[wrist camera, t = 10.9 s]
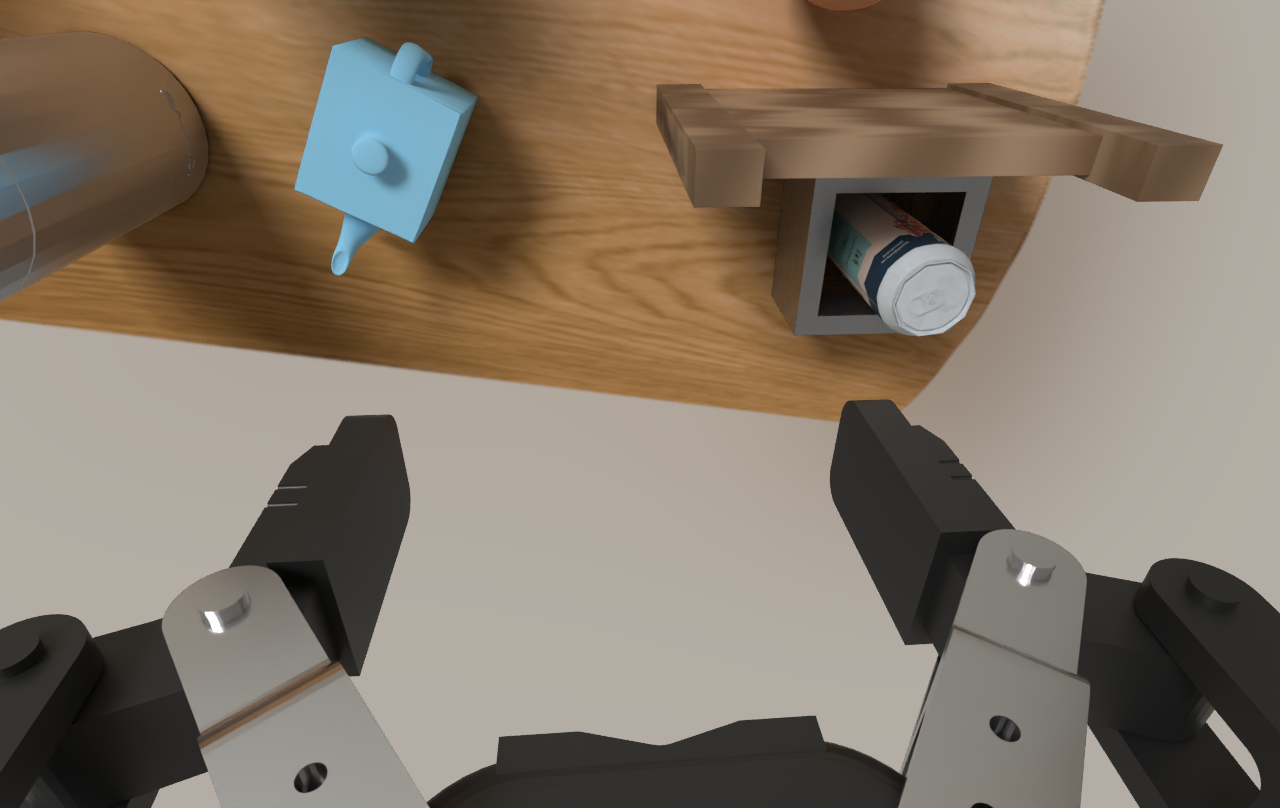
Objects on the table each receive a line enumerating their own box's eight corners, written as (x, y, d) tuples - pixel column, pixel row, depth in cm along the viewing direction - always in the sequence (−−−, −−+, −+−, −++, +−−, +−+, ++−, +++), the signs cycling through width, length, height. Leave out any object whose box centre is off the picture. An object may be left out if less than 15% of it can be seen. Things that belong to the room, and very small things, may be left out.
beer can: (898, 240, 44) (992, 320, 33) (827, 272, 44) (897, 359, 34) (880, 170, 41) (975, 233, 31) (805, 205, 42) (873, 278, 32)
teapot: (419, 256, 42) (388, 306, 36) (319, 212, 41) (268, 256, 34) (491, 66, 37) (470, 85, 31) (380, 6, 35) (333, 12, 29)
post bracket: (771, 295, 45) (794, 335, 40) (788, 145, 40) (816, 170, 35) (911, 292, 46) (951, 331, 40) (944, 144, 41) (995, 168, 35)
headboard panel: (656, 122, 39) (693, 207, 25) (656, 84, 38) (696, 149, 24) (980, 120, 40) (1198, 200, 26) (989, 83, 39) (1223, 144, 24)
